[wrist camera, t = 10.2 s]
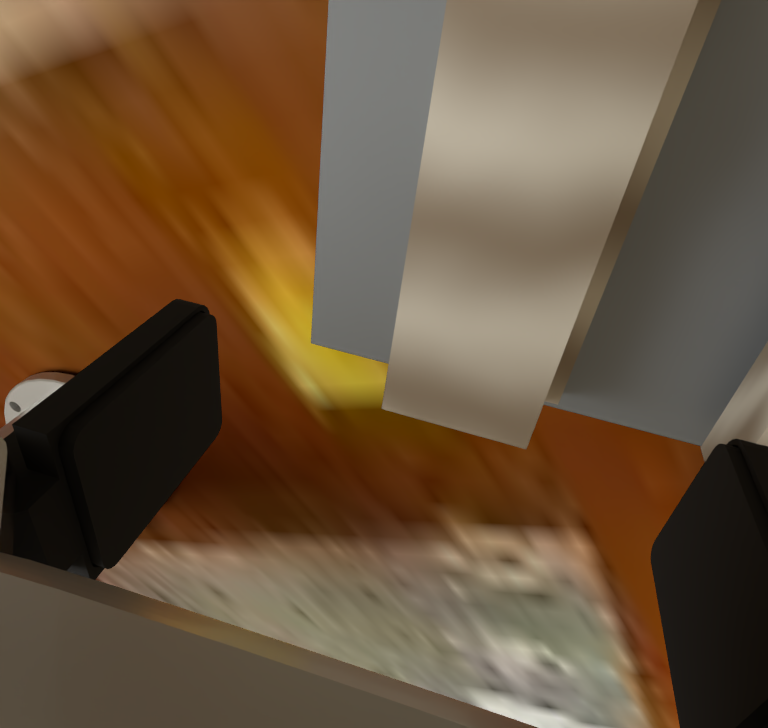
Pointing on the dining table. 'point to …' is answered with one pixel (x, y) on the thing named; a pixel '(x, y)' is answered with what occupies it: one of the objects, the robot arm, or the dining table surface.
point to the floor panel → (640, 248)
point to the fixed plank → (744, 410)
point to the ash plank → (529, 197)
